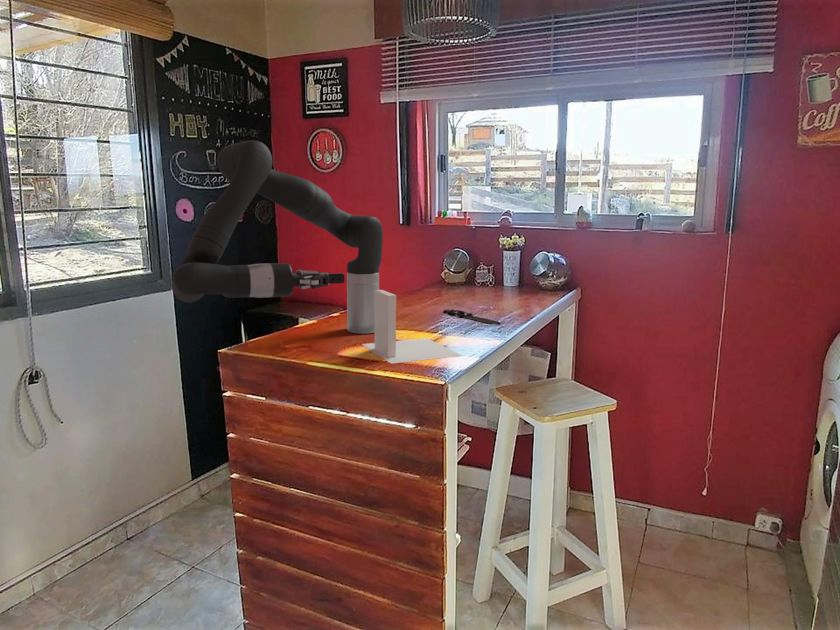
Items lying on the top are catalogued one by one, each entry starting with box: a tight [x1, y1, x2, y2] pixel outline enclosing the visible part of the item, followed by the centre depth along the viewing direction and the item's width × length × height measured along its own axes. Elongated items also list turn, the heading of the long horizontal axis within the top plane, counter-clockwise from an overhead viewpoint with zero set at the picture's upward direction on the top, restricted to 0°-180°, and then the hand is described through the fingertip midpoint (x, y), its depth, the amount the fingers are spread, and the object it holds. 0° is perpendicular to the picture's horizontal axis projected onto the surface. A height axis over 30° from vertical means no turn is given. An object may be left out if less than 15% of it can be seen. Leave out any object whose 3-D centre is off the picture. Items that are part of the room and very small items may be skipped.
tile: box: [374, 289, 397, 357], centre depth 148 cm, size 9×2×15 cm, turn 25°
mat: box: [361, 337, 463, 365], centre depth 153 cm, size 20×19×1 cm
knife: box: [442, 308, 501, 325], centre depth 198 cm, size 25×6×1 cm, turn 34°
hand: (343, 278), depth 142 cm, fingers closed
